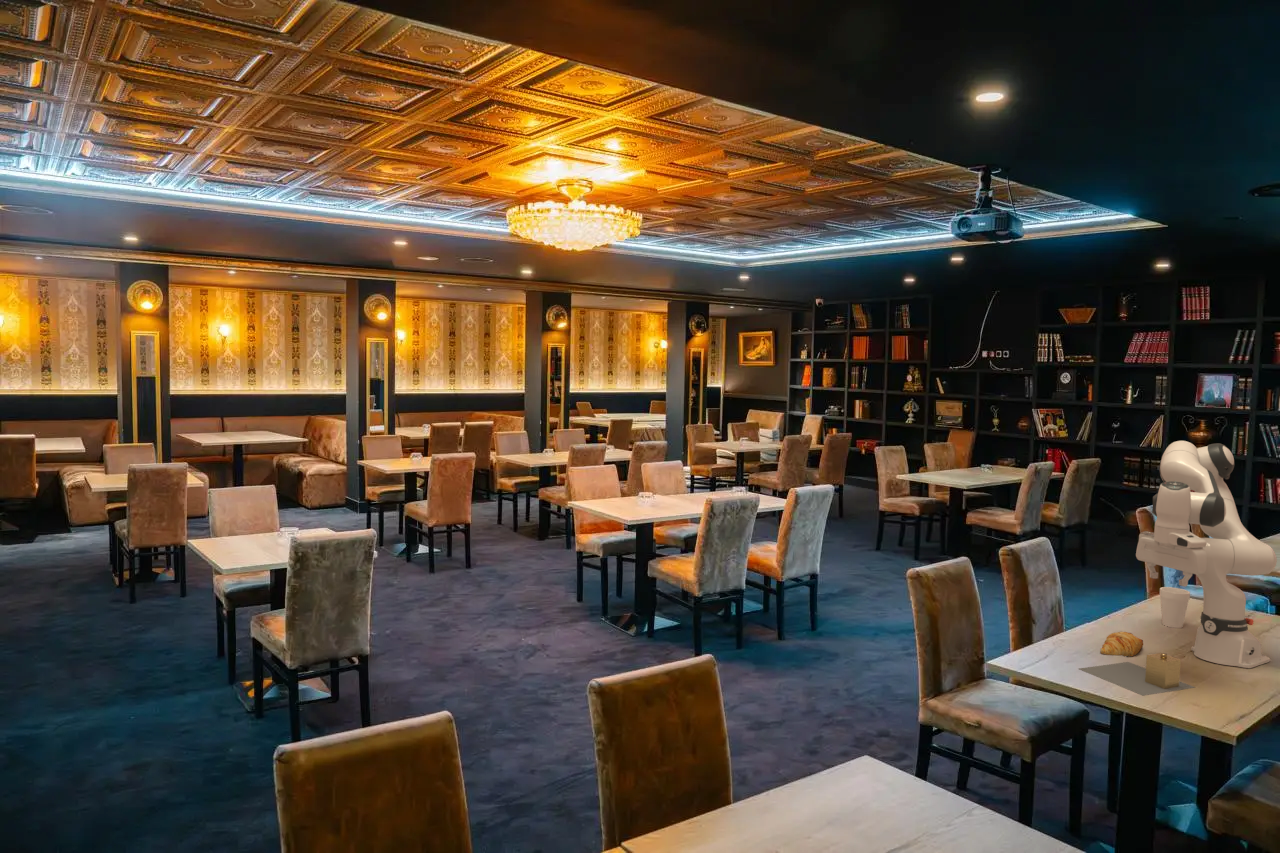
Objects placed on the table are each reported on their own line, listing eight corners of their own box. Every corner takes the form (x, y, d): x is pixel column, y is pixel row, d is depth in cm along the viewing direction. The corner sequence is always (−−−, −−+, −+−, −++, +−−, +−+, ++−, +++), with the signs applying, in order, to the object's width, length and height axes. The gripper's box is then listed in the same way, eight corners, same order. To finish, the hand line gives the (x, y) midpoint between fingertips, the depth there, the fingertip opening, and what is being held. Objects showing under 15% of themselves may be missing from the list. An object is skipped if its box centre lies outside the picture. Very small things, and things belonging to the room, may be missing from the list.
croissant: (1109, 670, 269) (1122, 652, 265) (1084, 647, 276) (1096, 629, 273) (1147, 658, 280) (1160, 641, 276) (1121, 637, 287) (1133, 619, 283)
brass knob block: (1159, 679, 250) (1161, 649, 249) (1178, 686, 244) (1180, 656, 244) (1145, 681, 248) (1147, 651, 247) (1164, 689, 242) (1166, 658, 241)
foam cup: (1151, 622, 311) (1153, 587, 310) (1170, 620, 313) (1172, 586, 312) (1174, 630, 302) (1177, 594, 301) (1193, 628, 304) (1196, 593, 303)
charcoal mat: (1128, 664, 265) (1128, 661, 265) (1195, 690, 244) (1195, 687, 244) (1077, 671, 257) (1077, 668, 257) (1142, 698, 237) (1142, 695, 237)
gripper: (1132, 530, 260) (1129, 574, 261) (1196, 543, 241) (1192, 591, 242) (1147, 529, 262) (1144, 572, 263) (1211, 542, 243) (1208, 589, 244)
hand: (1168, 581), depth 252 cm, fingers open, 8 cm apart
